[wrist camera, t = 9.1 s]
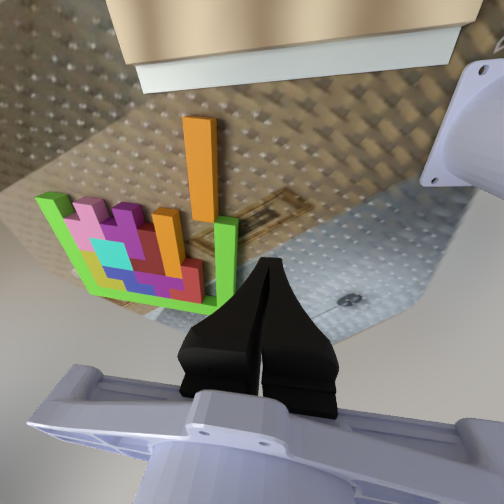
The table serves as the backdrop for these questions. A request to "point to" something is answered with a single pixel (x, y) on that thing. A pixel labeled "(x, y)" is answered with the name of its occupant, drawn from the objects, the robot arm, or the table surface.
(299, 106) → the table surface
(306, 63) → the underlay mat
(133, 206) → the toy blocks
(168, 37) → the loose board
